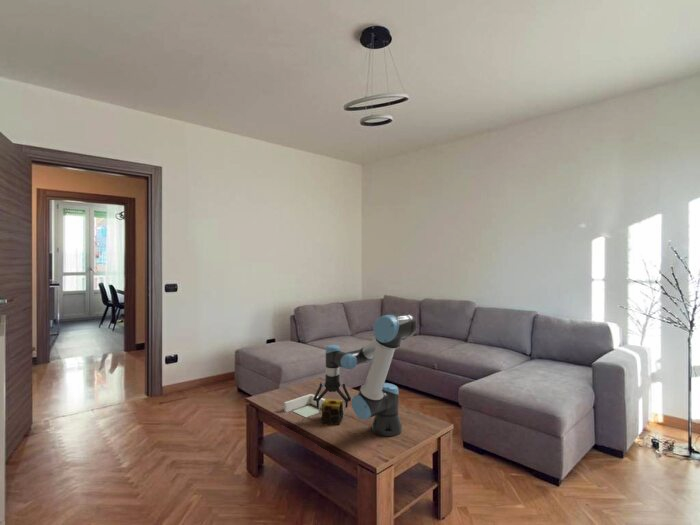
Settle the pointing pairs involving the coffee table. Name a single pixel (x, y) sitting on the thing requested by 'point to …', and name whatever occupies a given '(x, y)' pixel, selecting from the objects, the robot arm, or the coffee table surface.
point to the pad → (307, 411)
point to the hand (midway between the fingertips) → (332, 413)
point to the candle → (332, 411)
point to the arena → (301, 402)
